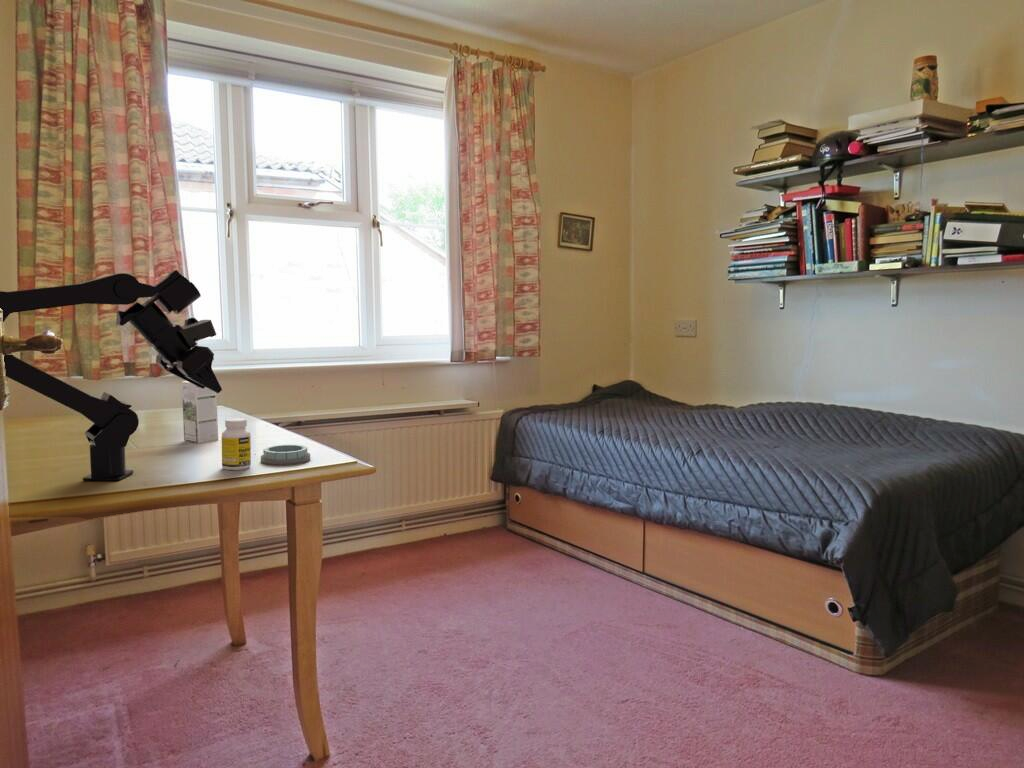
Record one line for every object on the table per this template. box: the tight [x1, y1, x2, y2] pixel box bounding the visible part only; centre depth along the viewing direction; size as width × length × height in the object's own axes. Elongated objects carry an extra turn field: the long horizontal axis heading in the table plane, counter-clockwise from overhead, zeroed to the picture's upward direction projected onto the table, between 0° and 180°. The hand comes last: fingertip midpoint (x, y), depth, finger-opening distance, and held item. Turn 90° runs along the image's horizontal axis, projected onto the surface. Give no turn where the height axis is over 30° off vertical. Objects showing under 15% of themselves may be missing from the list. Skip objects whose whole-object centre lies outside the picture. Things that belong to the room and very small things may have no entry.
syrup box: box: [181, 380, 219, 444], centre depth 170 cm, size 6×6×14 cm
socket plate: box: [260, 444, 311, 466], centre depth 151 cm, size 10×10×2 cm
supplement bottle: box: [221, 417, 252, 471], centre depth 143 cm, size 5×5×10 cm
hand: (212, 389), depth 145 cm, fingers open, 9 cm apart
